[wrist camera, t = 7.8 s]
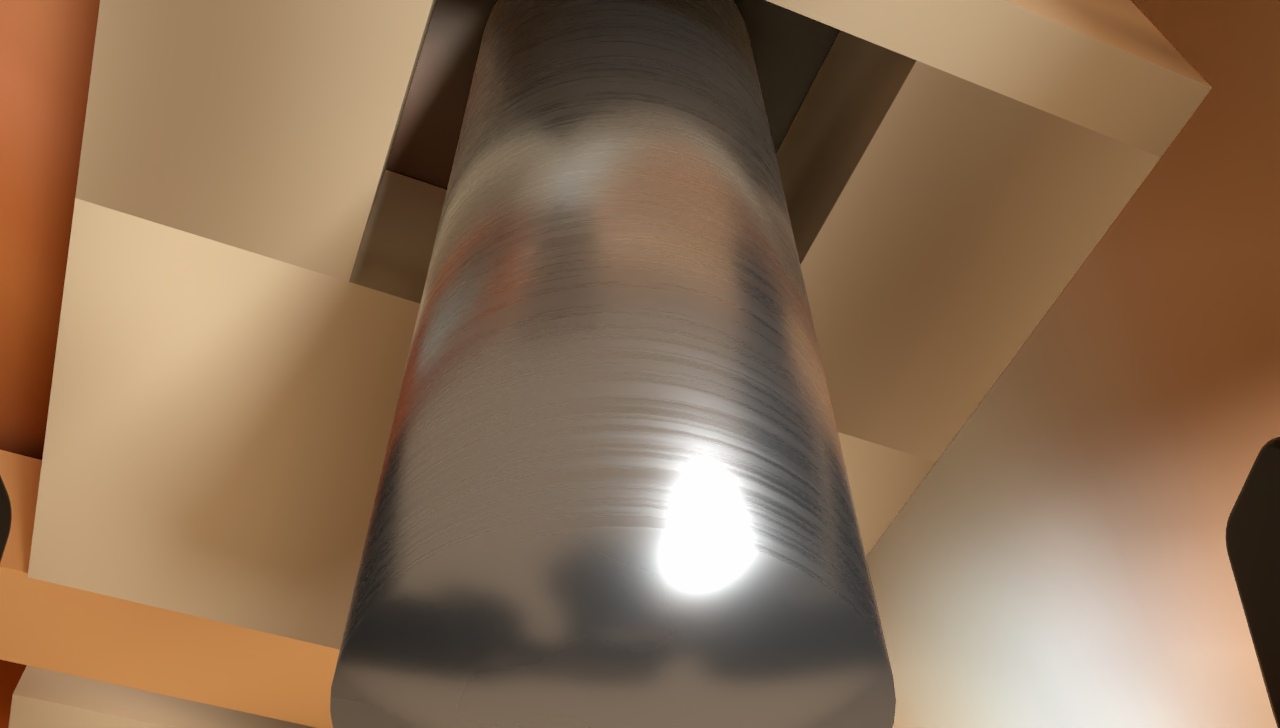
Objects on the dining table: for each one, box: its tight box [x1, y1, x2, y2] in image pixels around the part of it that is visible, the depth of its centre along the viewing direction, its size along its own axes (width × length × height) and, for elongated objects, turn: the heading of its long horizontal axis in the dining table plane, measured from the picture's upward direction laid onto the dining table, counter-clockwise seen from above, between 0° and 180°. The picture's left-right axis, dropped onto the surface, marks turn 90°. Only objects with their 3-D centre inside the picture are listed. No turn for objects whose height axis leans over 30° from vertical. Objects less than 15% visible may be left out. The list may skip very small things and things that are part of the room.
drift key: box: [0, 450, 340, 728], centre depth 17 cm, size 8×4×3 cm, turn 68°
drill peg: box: [330, 0, 896, 728], centre depth 10 cm, size 3×3×9 cm
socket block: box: [8, 0, 1212, 728], centre depth 15 cm, size 10×15×2 cm, turn 158°
